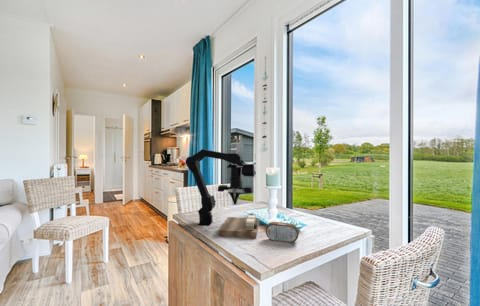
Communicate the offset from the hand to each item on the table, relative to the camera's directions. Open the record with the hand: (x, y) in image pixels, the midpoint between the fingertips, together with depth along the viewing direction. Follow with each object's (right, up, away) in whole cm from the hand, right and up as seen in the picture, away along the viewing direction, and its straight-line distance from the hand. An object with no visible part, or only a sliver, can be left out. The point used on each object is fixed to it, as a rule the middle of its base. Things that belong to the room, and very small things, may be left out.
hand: (235, 204), depth 129 cm
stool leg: (+8, -9, -8) cm, 14 cm away
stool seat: (+3, -12, -6) cm, 14 cm away
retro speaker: (+22, -13, -21) cm, 33 cm away
